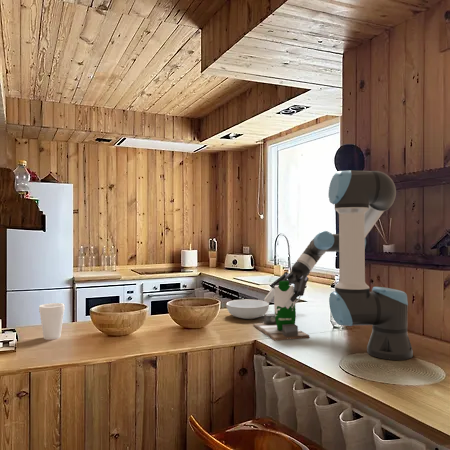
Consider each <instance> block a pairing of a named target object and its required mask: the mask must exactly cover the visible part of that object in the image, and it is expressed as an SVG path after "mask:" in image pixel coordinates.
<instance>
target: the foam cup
mask: <svg viewBox="0 0 450 450" xmlns="http://www.w3.org/2000/svg"><path fill="white" fill-rule="evenodd" d="M65 306H66V305H65V304H64V303H62V302H60V303H59V302H54V303H52V302H51V303H43V304H40V305H39V306H38V307H39V309H38V310H39V311H38V312H39V316H40V323H41V331H42V335H43V340H47V341H49V340H51V341H52V340H58V339H60V338H61V337H62V335H61V334H62V328H63V322H64V321H63V320H64V313H65V311H66V310H65V309H66V307H65Z"/></svg>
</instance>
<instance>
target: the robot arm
mask: <svg viewBox="0 0 450 450" xmlns="http://www.w3.org/2000/svg"><path fill="white" fill-rule="evenodd" d="M396 195H397V188H396V185H395V183H394V181H393V179H392V178H391V177H390V176H389V175H388V174H386V173H385V172H382V171H379V170H352V169H351V170H349V169H348V170H339V171H337V172H335V173H334V174H333V176H332V178H331V180H330V183H329V186H328V198H329V199H328V200H329V202H330V203H331V204H332V205H334V210H335V211H336V212H337V213H338V224H339V225H338V227H339V228H338V229H339V230H338V231H339V232H338V233H332V232H330V231H328V230H322V231H319V233H318V234H316V235H315V236H314V237H313V239H311V240H310V242H309V244H308V245H307V246H306V248H305V250H304V251H303V252H302V253H301V254H300V256H299V257H298V258H297V260H296V261H295V262H294V264H293V265H292V266H291V271H290V272H289V271H285V272H284V273H283V274H282V275H281V276H280V277H278V279H276V280H275V281H274V282H272V283H271V284H270V288H271V289H270V290H269V291H268V293H267V294H266V296H265V297H264V299H263V301H266V302H267V303H268V304H269V305H270V302H271V301H272V300H273V299H274V292H275V289H274V287H275V286H276V285H279V281H289V284H291V285H293V287H294V288H293V289H294V291H293V292H294V293H293V292H292V293H291V295H290V296H289V297H288V299H287V300H286V301H285V303H284V304H283V305H284V306H285V307H286V308H287V309H289V307H290V306H291V304H292V303H293V302H294V301H295V302H296V301H297V299H298V298H299V296H300V295H301V297H303V296H304V295H305V294H304V293H305V292H306V291H305V290H306V287H307V283H308V281H309V277H308V276H309V274H310V272H311V271H312V270H313V269H314V267H315V266H316V264H317V263H318V261H319V260H320V259H321V258H322V256H324V254H325V253H326V252H327V253H329V252H330V253H334V252H338V253H339V254H338V255H339V256H338V257H339V260H338V261H339V268H338V269H339V271H338V272H339V281H338V282H337V284H335V286H334V289H335V290H334V291H331V293H329V298H328V299H329V300H328V302H329V303H328V304H329V309H330V313H331V316H332V318H333V320H334V321H335V323H336V324H337V325H339V326H345V327H346V326H349V327H352V326H372V330H371V334H370V337H369V340H368V343H367V345H366V352H367V354H368V355H370V356H372V357H373V358H379V359H383V360H389V361H390V360H391V361H404V360H409V359H412V358H413V353H414V351H413V347H412V344H411V340H410V338H409V335H408V311H409V310H408V309H409V307H408V306H409V303H408V295H407V293H406V292H405V291H403V290H399V289H395V288H389V287H384V286H382V287H381V286H373V287H372V289H371V291H370V286H369V285H368V284H367V283H366V273H365V272H366V268H365V267H366V266H365V265H366V264H365V263H366V261H365V259H366V258H365V257H366V255H365V253H366V252H365V249H366V245H367V239H366V237H367V236H368V234H369V233H370V232H371V230H372V229H373V228H374V226H375V225H376V224H377V222H378V220H379V219H380V217H381V216H382V214H384V212H385V211H388V210H389V209H390V208H391V207H392V205H393V204H394V201H395V199H396Z"/></svg>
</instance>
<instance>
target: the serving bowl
mask: <svg viewBox="0 0 450 450" xmlns="http://www.w3.org/2000/svg"><path fill="white" fill-rule="evenodd" d="M225 306H226V309H227V313H229V314H230V315H232V316H233V317H235V318H239V319H242V320H243V319H244V320H254V319H257V318H260V317H264V314H267V312H268V310H269V308H270V303H269V304H268V303H267V302H266V301H265V300H261V299H260V300H259V299H250V298H249V299H247V298H246V299H234V300H230V301H227V302H226V305H225Z"/></svg>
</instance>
